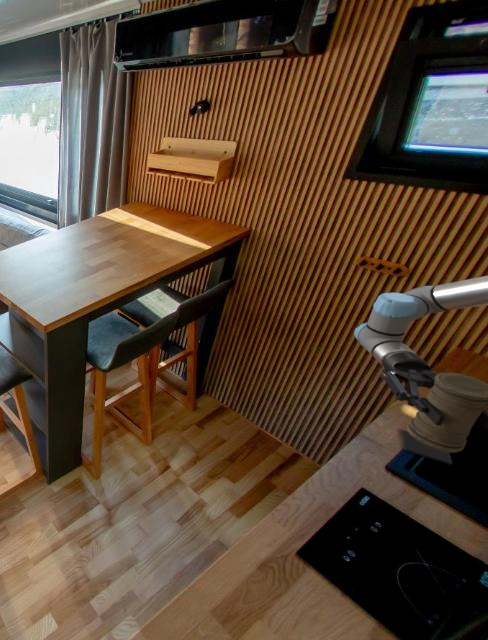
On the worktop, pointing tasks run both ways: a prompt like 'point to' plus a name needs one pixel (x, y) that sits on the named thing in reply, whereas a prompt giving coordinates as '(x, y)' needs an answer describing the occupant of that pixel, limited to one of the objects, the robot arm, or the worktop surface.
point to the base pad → (424, 449)
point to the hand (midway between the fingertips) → (466, 424)
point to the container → (450, 412)
